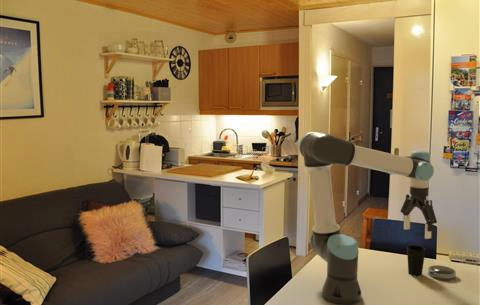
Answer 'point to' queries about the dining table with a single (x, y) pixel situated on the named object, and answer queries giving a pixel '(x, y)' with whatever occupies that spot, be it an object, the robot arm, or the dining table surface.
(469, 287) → the dining table surface
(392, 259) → the dining table surface
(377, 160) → the robot arm
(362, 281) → the dining table surface
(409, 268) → the cup
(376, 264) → the dining table surface
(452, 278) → the grey metal bowl
